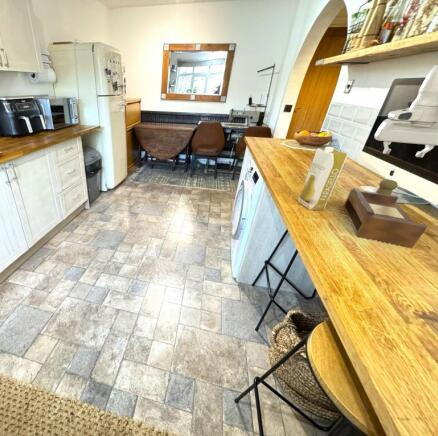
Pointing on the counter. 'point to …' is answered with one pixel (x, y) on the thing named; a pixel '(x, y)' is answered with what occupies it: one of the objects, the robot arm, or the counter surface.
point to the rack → (381, 218)
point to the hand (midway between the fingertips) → (401, 155)
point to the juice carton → (322, 178)
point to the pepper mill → (386, 186)
